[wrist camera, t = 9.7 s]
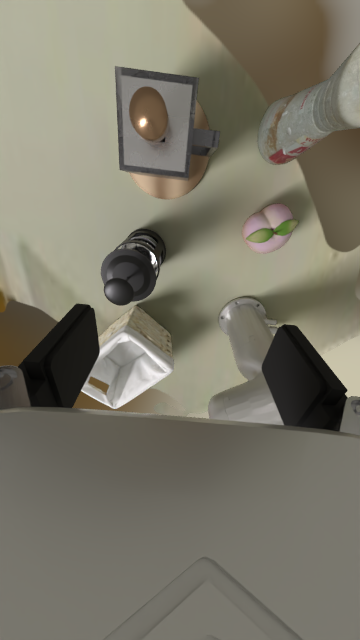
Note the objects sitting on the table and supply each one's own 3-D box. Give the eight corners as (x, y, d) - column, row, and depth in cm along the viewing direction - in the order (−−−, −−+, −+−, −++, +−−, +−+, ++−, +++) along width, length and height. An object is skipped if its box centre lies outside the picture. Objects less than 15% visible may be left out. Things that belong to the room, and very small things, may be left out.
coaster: (218, 91, 34) (218, 90, 33) (202, 203, 43) (202, 203, 42) (120, 78, 33) (118, 76, 33) (124, 194, 42) (123, 194, 41)
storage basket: (137, 297, 55) (123, 330, 42) (179, 334, 61) (177, 372, 49) (86, 344, 64) (62, 382, 52) (127, 372, 70) (114, 412, 58)
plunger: (185, 124, 34) (185, 68, 18) (181, 171, 38) (178, 159, 22) (147, 119, 34) (111, 58, 18) (146, 166, 38) (116, 152, 21)
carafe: (214, 119, 35) (229, 82, 22) (205, 183, 40) (214, 181, 27) (140, 109, 35) (115, 66, 22) (140, 175, 40) (119, 169, 27)
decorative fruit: (245, 253, 48) (257, 268, 39) (232, 219, 44) (243, 227, 36) (286, 233, 45) (309, 244, 37) (277, 194, 41) (300, 196, 33)
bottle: (292, 81, 33) (554, -176, 10) (316, 137, 37) (549, 48, 13) (245, 130, 36) (354, 28, 13) (271, 177, 40) (393, 163, 16)
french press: (155, 219, 44) (132, 244, 25) (175, 258, 49) (168, 306, 30) (111, 243, 47) (59, 283, 28) (133, 278, 52) (102, 333, 33)
